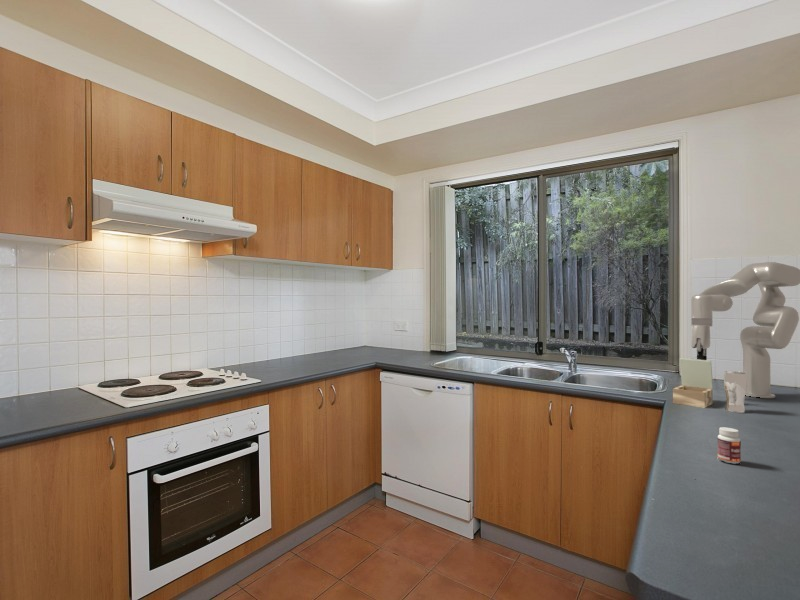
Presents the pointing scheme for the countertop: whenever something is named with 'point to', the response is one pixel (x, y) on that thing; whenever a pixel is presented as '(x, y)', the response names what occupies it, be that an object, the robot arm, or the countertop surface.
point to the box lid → (696, 373)
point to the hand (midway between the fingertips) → (701, 364)
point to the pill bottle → (729, 445)
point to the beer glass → (735, 391)
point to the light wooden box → (693, 396)
